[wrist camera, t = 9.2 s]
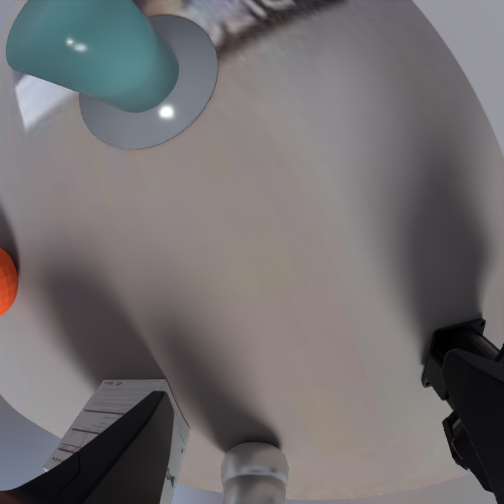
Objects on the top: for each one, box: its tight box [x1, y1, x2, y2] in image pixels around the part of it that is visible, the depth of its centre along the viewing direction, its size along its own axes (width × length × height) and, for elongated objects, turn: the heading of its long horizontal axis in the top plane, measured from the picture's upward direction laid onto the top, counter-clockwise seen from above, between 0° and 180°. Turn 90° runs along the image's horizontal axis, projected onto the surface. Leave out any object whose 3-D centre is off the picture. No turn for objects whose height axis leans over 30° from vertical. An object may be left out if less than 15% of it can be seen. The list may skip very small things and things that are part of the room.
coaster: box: [79, 16, 218, 149], centre depth 17 cm, size 11×11×1 cm
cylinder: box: [6, 0, 179, 113], centre depth 12 cm, size 6×6×11 cm
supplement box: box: [43, 379, 190, 504], centre depth 18 cm, size 7×7×13 cm
